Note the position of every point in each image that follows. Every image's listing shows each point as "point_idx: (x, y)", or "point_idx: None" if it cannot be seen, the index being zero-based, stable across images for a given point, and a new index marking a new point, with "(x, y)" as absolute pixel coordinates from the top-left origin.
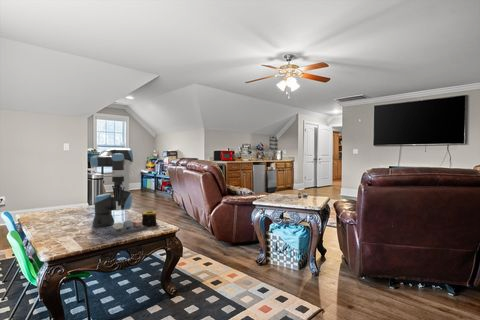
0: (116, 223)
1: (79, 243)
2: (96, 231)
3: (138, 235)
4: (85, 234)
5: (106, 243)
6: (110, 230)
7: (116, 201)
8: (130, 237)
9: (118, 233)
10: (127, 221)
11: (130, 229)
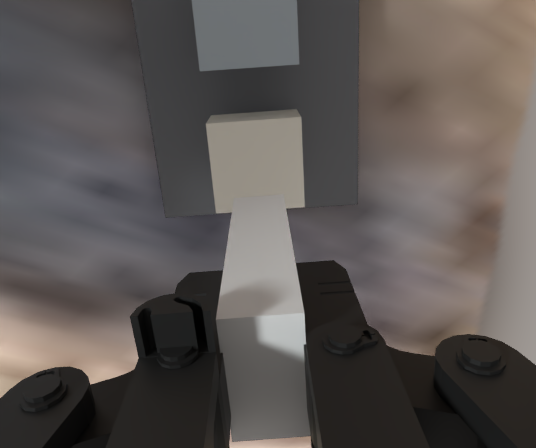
0: (225, 180)
1: (301, 441)
2: (39, 271)
3: (504, 14)
4: (83, 361)
5: (463, 321)
6: (199, 210)
7: (271, 431)
8: (491, 112)
9: (356, 186)
10: (224, 13)
11: (328, 24)
